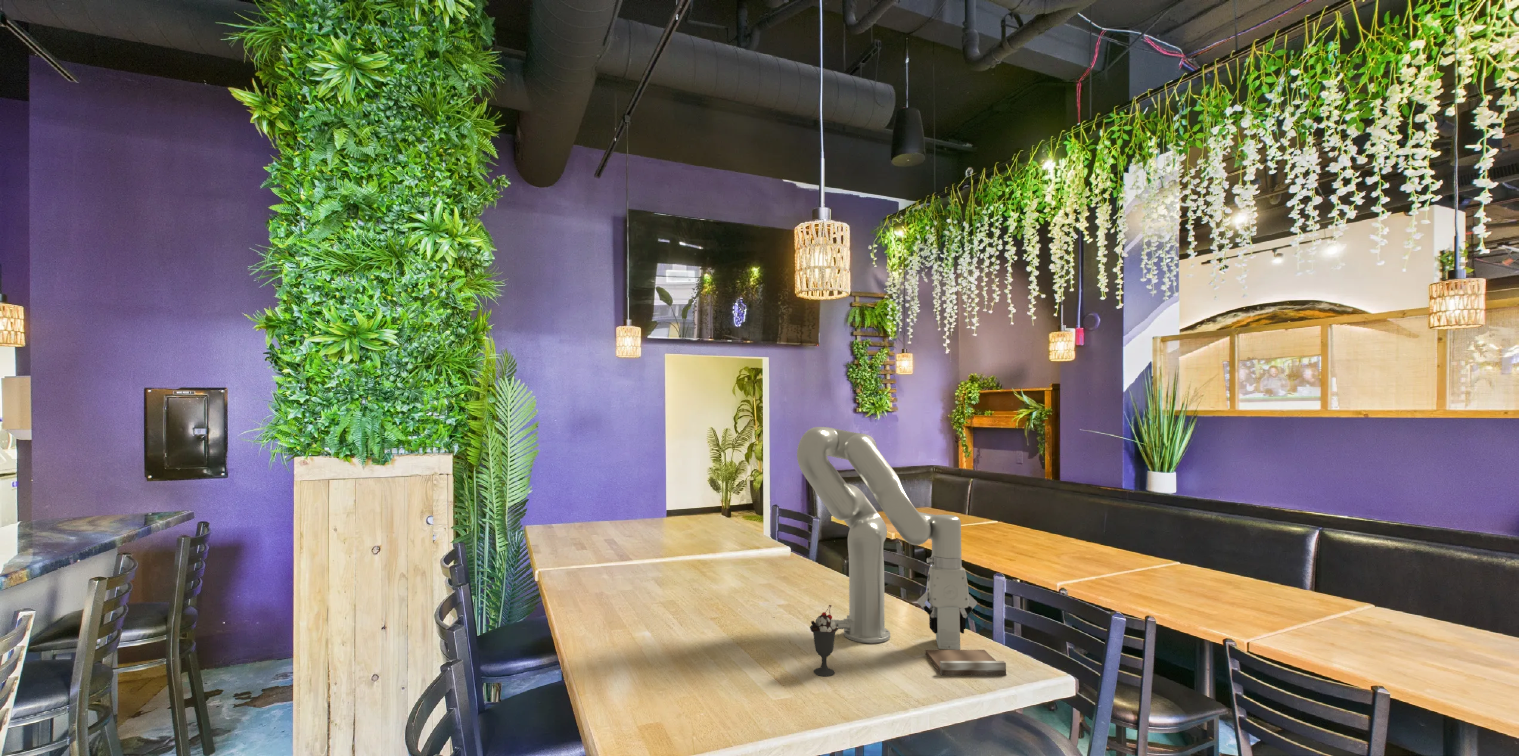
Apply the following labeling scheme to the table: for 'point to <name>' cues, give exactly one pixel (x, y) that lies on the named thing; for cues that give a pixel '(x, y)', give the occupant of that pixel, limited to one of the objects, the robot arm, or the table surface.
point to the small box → (948, 628)
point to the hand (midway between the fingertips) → (947, 631)
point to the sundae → (824, 641)
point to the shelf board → (965, 662)
